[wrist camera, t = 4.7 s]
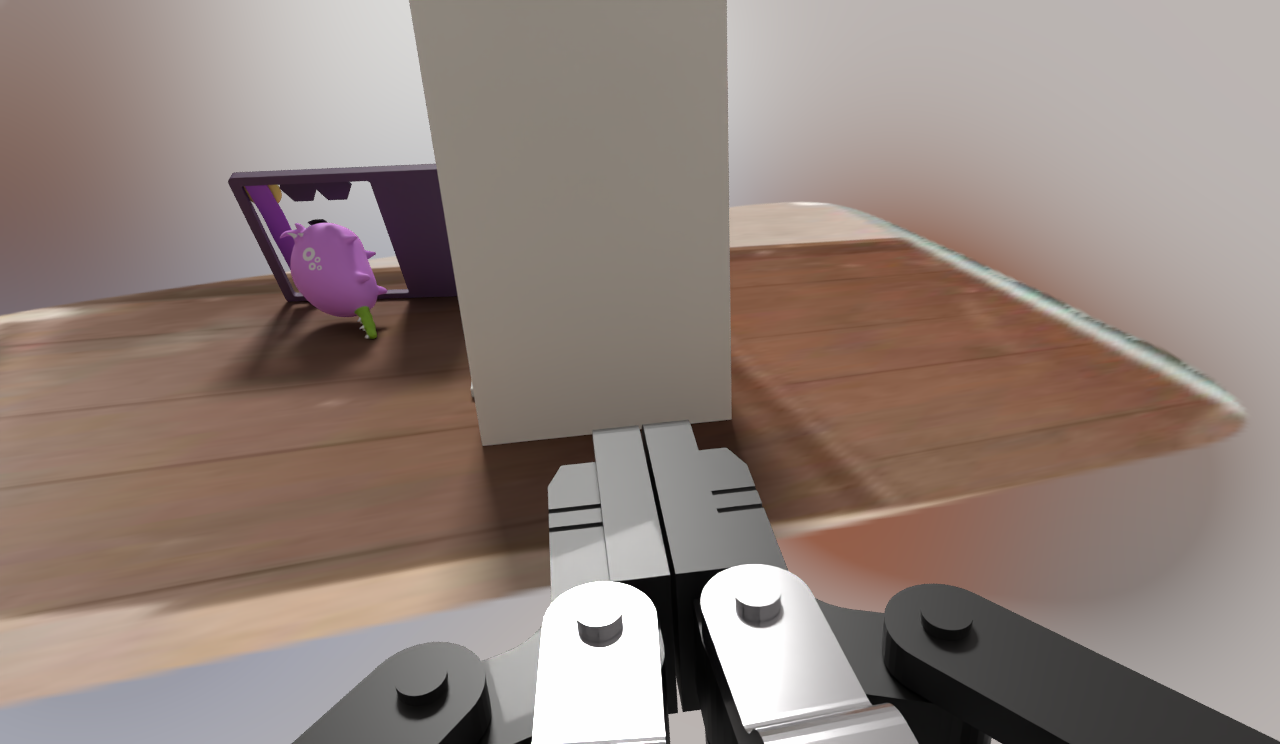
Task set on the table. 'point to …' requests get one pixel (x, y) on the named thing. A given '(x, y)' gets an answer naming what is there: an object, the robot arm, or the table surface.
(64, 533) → the table surface
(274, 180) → the purple frame
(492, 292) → the off-white rectangular block
